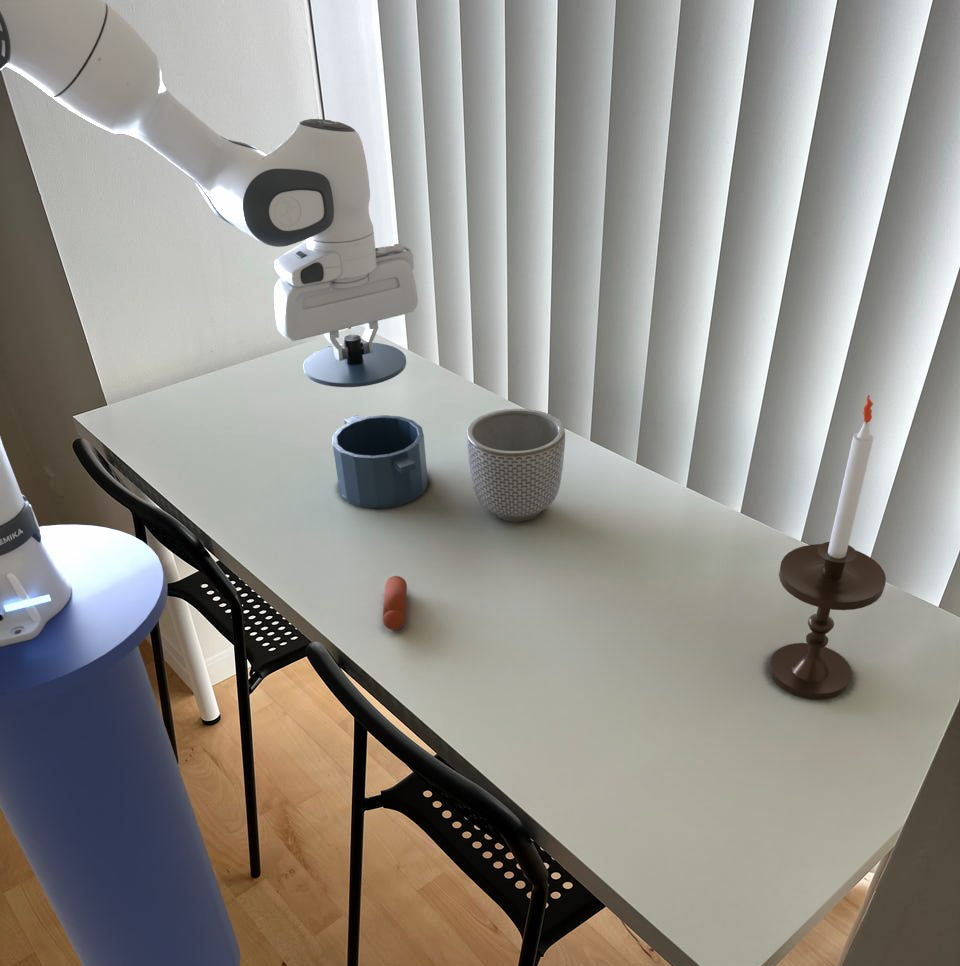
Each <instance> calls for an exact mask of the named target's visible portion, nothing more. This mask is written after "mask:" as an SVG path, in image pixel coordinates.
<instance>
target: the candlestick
mask: <svg viewBox="0 0 960 966" xmlns="http://www.w3.org/2000/svg"><path fill="white" fill-rule="evenodd" d="M870 397H871V396H870V395H869V394H868V395H867V397H866V403H865V405H864V406H863V411H862V415H863V423H862V426H861V428H860V430H859V432H855V433H853V436H852V440H851V444H850V449H849V454H848V457H847V462H846V467H845V472H844V476H843V481H842V485H841V490H840V494H839V498H838V503H837V506H836V507H837V508H836V512H835V517H834V521H833V525H832V526H833V527H832V531H831V534H830V540H829V541H826V542H822V543H817V544H816V543H814V544H808V545H803V546H799V547H796V548H794V549H793V550H792V549H791V551H789V552H787V554H786V555H785V556H783V558H782V559H781V562H780V565H779V572H778V577H779V582H780V584H781V585H782V587H783V588H784V589H785V591H786V592H787V593H788V594H790V595H791V596H792V597H794V598H796V599H797V600H799V601H801V602H803V603H805V604H808V605H810V606H814V607H817V610H816V613H813V614H811V615H810V616H809V617H808V620H807V624H808V625H807V626H808V628H809V629H810V631H811V632H808V633H807V634H806V636H805V642H797V643H796V642H795V643H790V644H786V645H783V646H782V647H780V648H779V649H777V650H776V651H775V652H774V653H773V654H772V656H771V658H770V664H769V668H768V669H769V674H770V676H771V679H772V680H773V681H774V683H775V684H776V685H777V686H778V687H779V688H780V689H782V690H784V691H785V692H786V693H789V694H790V695H793V696H795V697H799V698H803V699H808V700H817V701H818V700H828V699H833V698H836V697H838V696H840V695H842V694H843V693H845V692H846V690H847V689H848V688H849V686H850V683H851V679H852V673H853V672H852V668H851V666H850V664H849V662H848V661H847V660H846V658H844V656H842V655H841V654H840V653H839V652H837V651H835V650H833V649H831V648H828V647H827V646H828V644H829V637H828V635H827V634H828V633H829V632H831V631H832V630H833V629H834V626H835V621H834V619H833V618H832V617H831V616H830V613H831V610H832V611H852V610H858V609H862V608H867V607H868V606H870V605H872V604H874V603H875V602H878V600H879V599H880V598H881V597H882V595H883V593H884V590H885V586H886V581H887V576H886V574H885V571H884V569H883V568H882V566H881V564H879V563H878V562H877V561H876V560H875V559H873V558H872V557H870V556H869V555H867V554H866V553H863V552H861V551H860V550H856V549H855V548H854V547H853V546H851V545H849V544H850V541H851V535H852V531H853V526H854V523H855V519H856V513H857V510H858V505H859V501H860V498H861V493H862V488H863V484H864V480H865V475H866V472H867V468H868V463H869V458H870V454H871V450H872V448H873V447H872V446H873V443H874V436H873V435H872V434H871V433H870V422H871V421H872V418H873V415H872V412H873V410H872V407H873V405H874V403H873V401H872V400H871V399H870Z"/></svg>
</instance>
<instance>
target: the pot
mask: <svg viewBox="0 0 960 966" xmlns="http://www.w3.org/2000/svg"><path fill="white" fill-rule="evenodd" d="M343 419H344V425H342V426H340V427H339V428H337V430H336V431H335V432H334V433H333V435H332V437H331V438H332V439H331V441H332V450H333V457H334V462H335V470H336V476H337V482H338V483H337V484H338V488H339V493H340V495H341V497H342V498H343V499H344V500H345V501H346V502H348V503H349V504H351V505H354V506H357V507H360V508H366V509H389V508H394V507H398V506H399V507H400V506H402V505H405V504H408V503H410V502H413V501H414V500H416V499H418V498H419V497H420V496H422V495H423V493H424V492H425V491H426V489H427V487H428V481H429V480H428V470H427V469H428V468H427V455H426V445H425V444H426V443H425V434H424V430H423V427H422V426H421V425H420V424H418V423H417V422H416V421H415V420H413V419H410V418H406V417H403V416H400V415H389V414H387V415H386V414H381V415H372V416H371V415H370V416H364V417H361V416H360V415H358V414H357V415H353V416H350V417H346V418H343Z"/></svg>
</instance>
